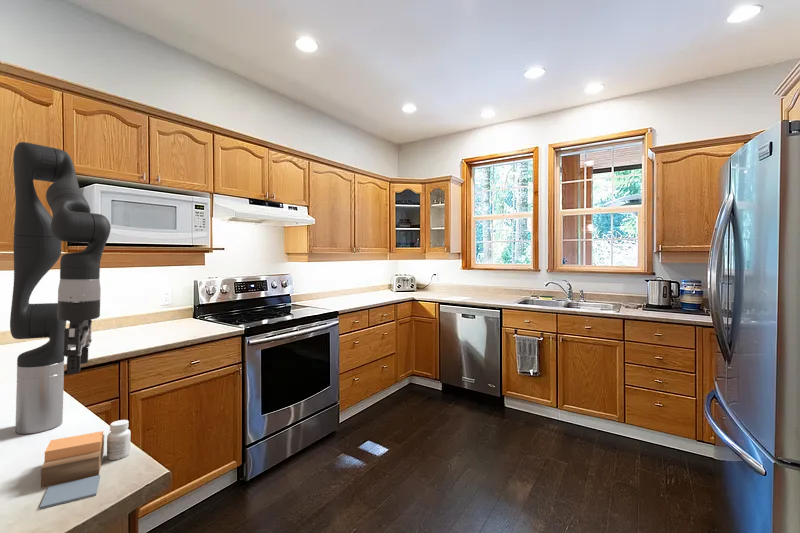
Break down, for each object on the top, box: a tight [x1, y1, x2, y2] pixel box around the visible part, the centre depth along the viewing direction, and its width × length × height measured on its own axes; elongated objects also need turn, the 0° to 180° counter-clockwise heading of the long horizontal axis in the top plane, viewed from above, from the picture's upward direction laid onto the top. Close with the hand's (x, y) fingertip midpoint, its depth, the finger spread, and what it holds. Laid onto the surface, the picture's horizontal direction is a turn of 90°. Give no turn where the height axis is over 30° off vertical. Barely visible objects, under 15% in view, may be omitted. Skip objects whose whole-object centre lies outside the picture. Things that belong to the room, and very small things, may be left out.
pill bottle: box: [106, 419, 132, 461], centre depth 88 cm, size 4×4×8 cm
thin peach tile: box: [44, 430, 104, 462], centre depth 82 cm, size 6×9×2 cm, turn 124°
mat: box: [39, 474, 101, 510], centre depth 74 cm, size 8×8×1 cm
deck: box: [40, 434, 105, 489], centre depth 82 cm, size 12×9×4 cm
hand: (77, 368), depth 88 cm, fingers open, 8 cm apart
